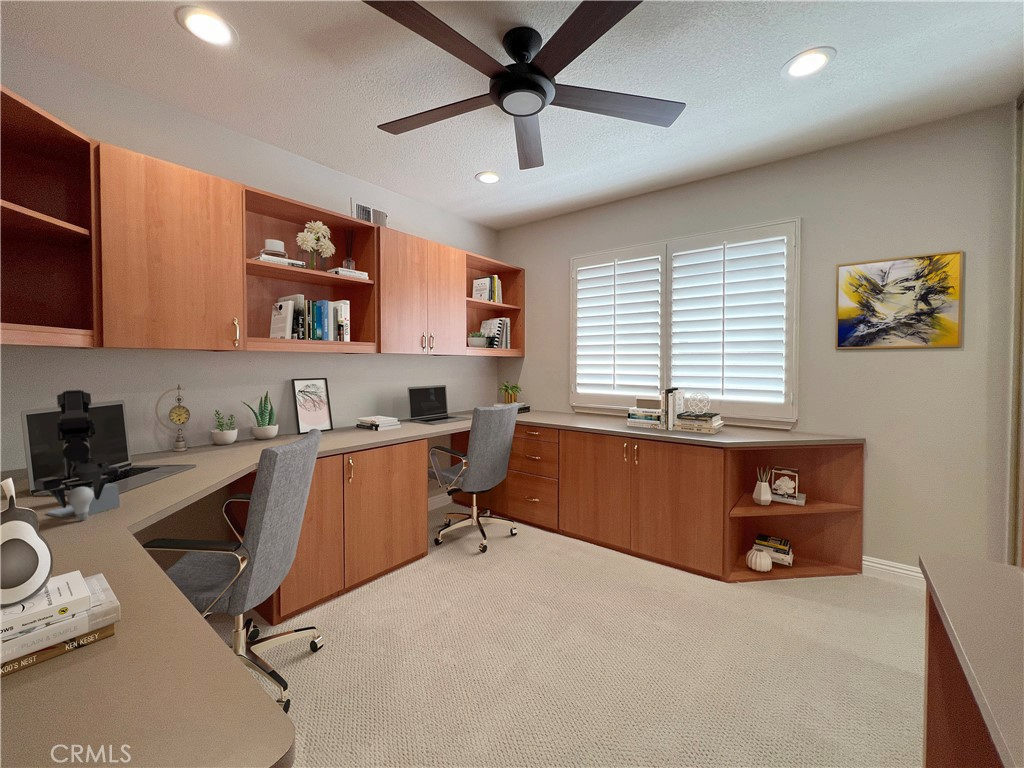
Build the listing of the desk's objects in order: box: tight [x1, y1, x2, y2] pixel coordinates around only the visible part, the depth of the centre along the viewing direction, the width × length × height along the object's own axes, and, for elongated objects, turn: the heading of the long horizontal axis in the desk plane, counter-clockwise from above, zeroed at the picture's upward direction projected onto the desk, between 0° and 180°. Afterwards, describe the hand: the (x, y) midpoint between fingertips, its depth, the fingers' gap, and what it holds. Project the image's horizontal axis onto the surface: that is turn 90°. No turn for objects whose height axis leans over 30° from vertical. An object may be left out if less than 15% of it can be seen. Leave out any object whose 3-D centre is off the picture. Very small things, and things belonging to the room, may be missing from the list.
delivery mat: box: [45, 505, 74, 518], centre depth 146 cm, size 9×9×1 cm
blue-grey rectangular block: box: [73, 482, 121, 516], centre depth 146 cm, size 5×10×8 cm, turn 160°
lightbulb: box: [66, 487, 94, 522], centre depth 137 cm, size 6×6×11 cm
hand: (81, 503), depth 137 cm, fingers open, 8 cm apart
